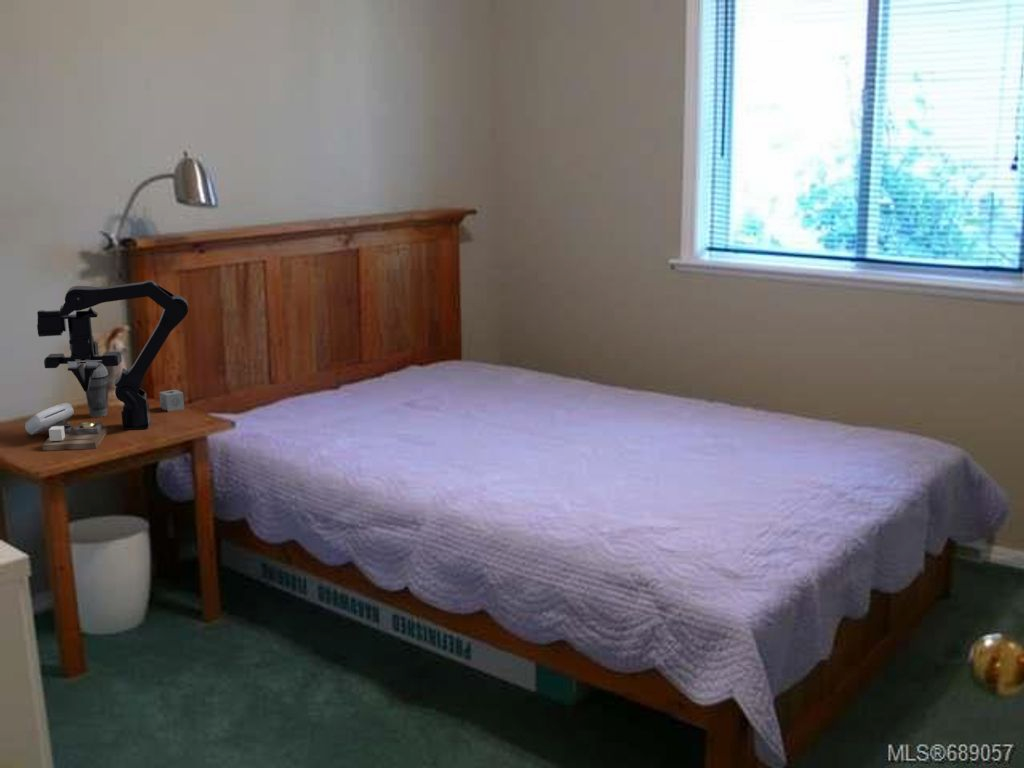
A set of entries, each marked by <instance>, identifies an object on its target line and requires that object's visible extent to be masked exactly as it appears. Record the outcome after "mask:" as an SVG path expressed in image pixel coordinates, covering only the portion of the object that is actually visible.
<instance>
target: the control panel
mask: <svg viewBox="0 0 1024 768" xmlns="http://www.w3.org/2000/svg"><path fill="white" fill-rule="evenodd" d="M93 422H94V421H93ZM82 423H83V422H79V423H78V424H77V425H76V426H74V425H63V426H64V431H65V438H64V439H63V440H62V441H50V436H49V437H48V438H47V439H46V441H45V442H43V444H42V446H41V447H42V451H43V450H47V451H65V450H64V449H70V450H90V449H91V450H92V449H93V450H94V449H97V447H98V446H99V445H100V444H101V442H102V441H103V439H104V438H105V437H104V436H106V435H108V427H107V426H106V427H104V425H103V422H101V421H100V422H99V421H98V422H97V421H96V422H94V423H95V428H82Z"/></svg>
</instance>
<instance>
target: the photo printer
mask: <svg viewBox="0 0 1024 768" xmlns="http://www.w3.org/2000/svg"><path fill="white" fill-rule="evenodd" d="M74 412H75V411H74V408H73V406H72V404H71V403H70V402H62V403H59V404H57V405H53V406H51V407H49V408H45V409H44V410H42V411H39V412H38V413H35V415H32V417H31V418H29V419H28V420H27V421H26V422H25V423H24V424H25V425H24V428H25V432H26V433H28V434H30V435H31V436H33V435H37V434H39V433H42V432H44V431H47V430H49V429H50V428H51V427H53V426H57V422H66V420H67V419H69V418H71V417H72V416H74V414H75V413H74Z"/></svg>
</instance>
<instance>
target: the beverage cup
mask: <svg viewBox="0 0 1024 768" xmlns="http://www.w3.org/2000/svg"><path fill="white" fill-rule="evenodd" d="M94 356H98V355H94ZM86 366H87V365H86V364H84V368H85V367H86ZM84 375H85V374H84ZM108 380H109V372H108V369H107V366H104V365H103V364H102V363H100V366H99V367H98V368H97V369H96V370H94V372H93V375H92V378H91V382H90V386H89V390H88V391H86V392H85V397H86V402H87V407H88V411H89V414H90V415H89V416H90V418H94V417H98V418H103V416H104V417H106V415H107V416H108V382H109V381H108Z"/></svg>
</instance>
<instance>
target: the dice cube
mask: <svg viewBox="0 0 1024 768" xmlns="http://www.w3.org/2000/svg"><path fill="white" fill-rule="evenodd" d="M158 393H159V404H160V409H161V408H163V409H165V410H167V411H172V412H174V411H173V410H177V411H180V409H181V411H182V410H185V400H184V392H182V391H180V390H178V389H171V390H164V391H159V392H158ZM163 409H162V410H163ZM165 410H164V411H165ZM167 411H166V412H167Z"/></svg>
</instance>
